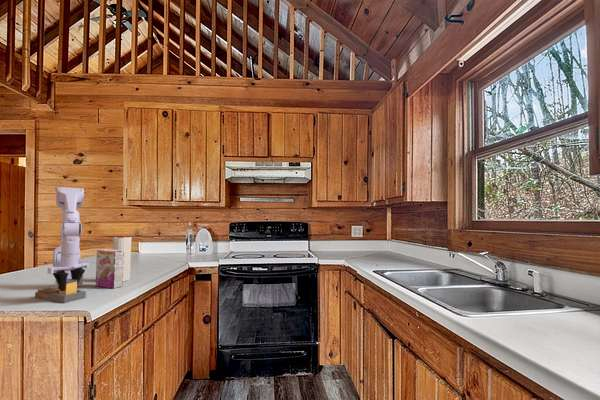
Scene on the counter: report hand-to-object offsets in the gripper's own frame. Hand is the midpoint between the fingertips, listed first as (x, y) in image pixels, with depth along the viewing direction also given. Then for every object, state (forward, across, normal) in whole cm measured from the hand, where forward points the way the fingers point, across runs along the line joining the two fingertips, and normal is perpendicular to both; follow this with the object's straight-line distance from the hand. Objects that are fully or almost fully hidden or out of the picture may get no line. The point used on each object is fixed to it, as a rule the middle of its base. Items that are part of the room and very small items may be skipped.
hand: (68, 289), depth 124 cm
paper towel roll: (+4, +31, +10) cm, 33 cm away
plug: (+2, 0, 0) cm, 2 cm away
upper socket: (+4, +1, +9) cm, 10 cm away
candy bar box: (+4, +21, +4) cm, 22 cm away
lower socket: (+4, 0, 0) cm, 4 cm away
